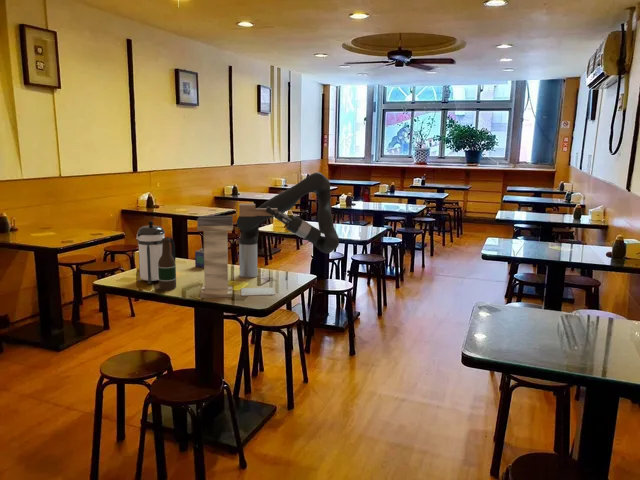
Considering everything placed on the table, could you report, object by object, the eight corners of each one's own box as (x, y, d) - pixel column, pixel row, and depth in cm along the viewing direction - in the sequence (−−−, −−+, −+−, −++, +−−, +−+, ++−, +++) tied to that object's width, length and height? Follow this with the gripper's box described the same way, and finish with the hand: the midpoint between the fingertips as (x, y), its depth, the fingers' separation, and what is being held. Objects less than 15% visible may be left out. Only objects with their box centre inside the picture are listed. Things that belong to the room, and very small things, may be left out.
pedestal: (201, 289, 232) (199, 215, 225) (233, 288, 234) (232, 215, 228) (198, 298, 218) (196, 219, 212) (233, 297, 221) (232, 219, 214)
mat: (241, 289, 233) (241, 288, 233) (272, 288, 236) (272, 287, 236) (241, 296, 223) (241, 295, 223) (274, 295, 225) (274, 294, 225)
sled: (239, 214, 224) (239, 203, 223) (277, 214, 227) (276, 203, 226) (239, 216, 219) (239, 205, 218) (277, 216, 221) (277, 205, 220)
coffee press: (165, 285, 237) (163, 223, 231) (132, 284, 237) (129, 222, 232) (176, 276, 254) (174, 218, 248) (145, 275, 254) (143, 217, 249)
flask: (210, 268, 272) (209, 249, 270) (206, 269, 270) (206, 250, 268) (197, 266, 277) (196, 247, 275) (193, 267, 274) (193, 248, 272)
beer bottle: (155, 289, 231) (153, 238, 226) (167, 285, 237) (165, 236, 233) (167, 291, 227) (165, 240, 223) (179, 287, 234) (178, 237, 229)
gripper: (301, 217, 233) (269, 199, 229) (305, 222, 220) (271, 203, 216) (293, 231, 234) (261, 213, 230) (296, 236, 220) (262, 217, 216)
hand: (266, 208), depth 223 cm, fingers closed on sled, 3 cm apart
